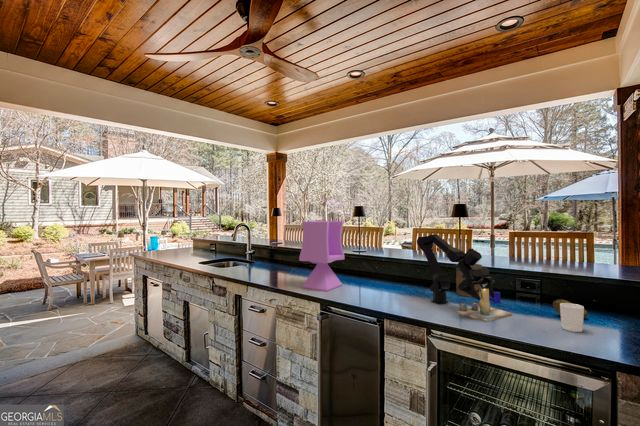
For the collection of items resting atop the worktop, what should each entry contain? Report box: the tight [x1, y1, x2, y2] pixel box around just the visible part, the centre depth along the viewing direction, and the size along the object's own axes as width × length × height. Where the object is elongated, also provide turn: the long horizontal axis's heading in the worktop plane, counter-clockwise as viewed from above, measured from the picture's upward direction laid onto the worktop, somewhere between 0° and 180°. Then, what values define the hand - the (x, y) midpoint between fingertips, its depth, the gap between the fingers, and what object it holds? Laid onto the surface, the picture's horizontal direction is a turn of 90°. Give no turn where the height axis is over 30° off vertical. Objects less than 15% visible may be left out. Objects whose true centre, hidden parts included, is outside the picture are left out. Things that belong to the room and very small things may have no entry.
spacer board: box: [455, 305, 513, 323], centre depth 152 cm, size 16×20×1 cm
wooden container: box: [455, 263, 484, 298], centre depth 191 cm, size 15×15×22 cm
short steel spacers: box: [459, 300, 491, 312], centre depth 156 cm, size 8×18×4 cm, turn 118°
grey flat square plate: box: [472, 312, 498, 319], centre depth 146 cm, size 8×8×1 cm
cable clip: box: [489, 291, 502, 304], centre depth 177 cm, size 12×4×6 cm, turn 172°
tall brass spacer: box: [479, 288, 490, 315], centre depth 147 cm, size 4×4×12 cm
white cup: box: [560, 302, 585, 333], centre depth 131 cm, size 8×8×10 cm
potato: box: [552, 298, 589, 319], centre depth 146 cm, size 8×13×8 cm, turn 54°
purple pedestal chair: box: [298, 220, 346, 293], centre depth 213 cm, size 22×22×45 cm
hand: (487, 298), depth 145 cm, fingers open, 9 cm apart
